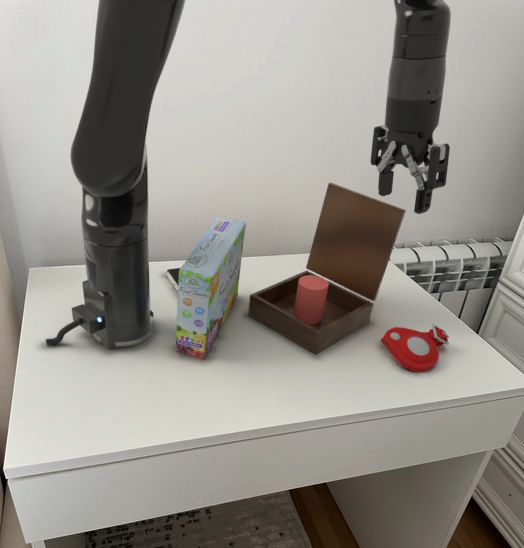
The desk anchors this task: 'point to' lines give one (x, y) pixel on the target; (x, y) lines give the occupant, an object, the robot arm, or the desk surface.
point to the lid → (354, 240)
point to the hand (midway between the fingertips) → (402, 203)
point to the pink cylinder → (311, 299)
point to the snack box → (208, 286)
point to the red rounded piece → (415, 346)
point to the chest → (313, 337)
